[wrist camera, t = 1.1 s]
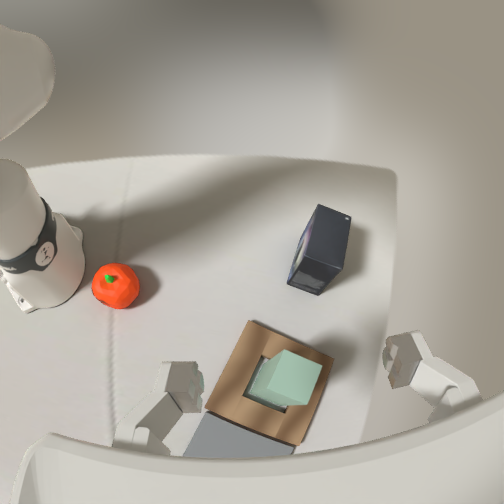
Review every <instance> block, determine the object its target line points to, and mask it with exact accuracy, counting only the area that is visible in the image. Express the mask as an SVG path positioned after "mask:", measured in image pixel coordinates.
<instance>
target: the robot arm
mask: <svg viewBox="0 0 504 504" xmlns="http://www.w3.org/2000/svg"><path fill="white" fill-rule="evenodd" d="M54 81H55V63H54V59H53V56H52V53H51V51H50V49H49V47H48V46H47V45H46V44H45V42H44V41H42V40H41V39H40V38H38V37H37V36H35V35H32V34H29V33H25V32H20V31H15V30H12V29H9V28H7V27H4V26H3V25H1V24H0V141H1V140H2V139H4V138H6V137H7V136H8V135H10V134H12V133H13V132H15V131H16V130H17V129H18V128H19V127H21V126H22V125H23V124H24V123H25V122H26V121H28V120H29V119H30V118H31V117H32V116H33V115H35V114H36V113H37V112H38V111H39V110H41V109H42V108H43V107H44V106H45V105H46V104H47V102H48V100H49V98H50V96H51V93H52V90H53V85H54ZM82 240H83V232H82V231H81V229H80V228H78V227H75V226H72V225H69V224H68V222H67V221H66V219H65V218H64V216H63V215H62V214H57V213H55V212H52V210H51V208H50V207H49V205H48V204H47V203H46V202H45V200H44V199H43V198H42V197H40V196H39V194H38V192H37V190H36V189H35V187H34V185H33V183H32V181H31V179H30V177H29V175H28V173H27V171H26V170H25V168H24V167H22V166H21V165H20V164H18V163H16V162H14V161H12V160H9V159H0V278H1V277H2V278H1V279H2V281H3V282H4V283H5V284H6V286H7V287H8V289H9V291H10V293H11V294H12V296H13V297H14V299H15V301H16V302H17V304H18V305H19V307H20V309H21V310H22V311H23V312H24V313H29V312H32V311H34V310H35V309H37V308H51V307H55V306H57V305H60V304H62V303H63V302H65V301H66V300H67V299H69V298H70V297H71V296H72V295H73V293H74V292H75V291H76V289H77V288H78V286H79V285H80V282H81V280H82V278H83V274H84V270H85V257H84V253H83V249H82ZM23 300H24V302H23V303H22V301H23ZM386 345H387V347H386V348H385V349H384V350H383V364H384V367H385V369H386V370H387V371H389V372H390V373H389V376H388V378H389V381H390V384H391V387H392V389H394V388H398V387H403V386H407V385H410V387H411V388H412V389H413V390H415V391H416V392H417V393H418V394H419V395H420V396H422V397H423V398H424V399H425V400H426V401H427V402H428V403H430V404H431V405H432V406H433V407H434V408H435V409H434V411H433V412H432V413H431V415H430V416H429V418H428V421H429V424H426V425H423V426H420V427H417V428H414V429H411V430H408V431H404V432H401V433H398V434H394V435H391V436H387V437H384V438H380V439H376V440H372V441H368V442H363V443H359V444H354V445H349V446H344V447H339V448H334V449H328V450H322V451H315V452H308V453H300V454H291V455H281V456H268V457H250V458H201V457H183V456H171V455H170V452H171V451H170V450H169V448H168V447H166V446H165V445H164V444H163V443H162V441H163V439H164V438H165V437H166V435H167V434H168V433H169V432H170V430H171V429H172V428H173V426H174V425H175V424H176V422H177V421H178V420H179V419H180V417H181V416H182V415H183V413H201V408H202V398H201V397H200V395H201V394H202V393H203V392H204V379H203V375H202V373H201V372H200V371H199V370H198V364H197V363H196V361H192V362H173V361H172V362H162V363H161V364H160V367H159V371H158V375H157V379H156V383H155V387H154V391H153V392H150V393H149V394H148V395H147V396H146V397H145V398H144V399H142V400H141V401H140V402H139V403H138V404H137V405H136V406H135V407H134V408H133V409H132V410H131V411H130V412H129V413H128V414H127V415H126V416H125V417H124V418H123V419H122V420H121V421H120V422H119V423H118V425H117V428H116V432H115V436H114V440H113V444H112V447H108V446H103V445H99V444H94V443H90V442H86V441H82V440H78V439H74V438H70V437H67V436H63V435H60V434H57V433H48V434H46V435H44V436H43V437H41V438H40V439H39V440H37V441H36V442H35V443H34V444H32V445H31V446H30V447H29V448H28V449H27V451H26V453H25V455H24V457H23V459H22V461H21V464H20V467H19V469H18V472H17V475H16V479H15V482H14V486H13V489H12V493H11V497H10V502H9V504H504V390H503V391H501V392H499V393H497V394H495V395H493V396H492V397H489V398H487V399H485V400H483V399H482V397H481V395H480V393H479V391H478V388H477V386H476V384H475V382H474V380H473V379H472V378H470V377H469V376H467V375H466V374H464V373H462V372H461V371H459V370H458V369H456V368H455V367H453V366H451V365H450V364H448V363H447V362H445V361H443V360H442V359H440V358H439V357H437V356H433V354H432V352H431V351H430V349H429V347H428V345H427V343H426V341H425V339H424V337H423V335H422V334H421V332H420V331H419V330H416V331H412V332H407V333H403V334H399V335H394V336H390V337H388V338H387V339H386Z"/></svg>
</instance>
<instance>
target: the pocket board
mask: <svg viewBox="0 0 504 504" xmlns="http://www.w3.org/2000/svg"><path fill="white" fill-rule="evenodd" d="M284 349H285V350H287V351H290V352H292V353H294V354H296V355H299V356H301V357H303V358H306V359H308V360H310V361H313V362H315V363H317V364H320V365H322V368H321V371H320V374H319V376H318V379H317V381H316V384H315V387H314V389H313V392H312V394H311V397H310V399H309V401H308V404H307V405H287V407H286V410H285V412H284V413H282V412H279V411H277V410H274V409H272V408H269V407H267V406H265V405H262V404H260V403H257V402H255V401H253V400H251V399H248V398H246V397H244V396H242V395H243V393H244V391H245V389H246V387H247V385H248V382H249V380H250V378H251V376H252V374H253V372H254V370H255V368H256V366H257V363H258V361H259V359H260V357H261V356H262V357H265V358H267V359H269V360H270V359H271V358H273V357H274V356H276V355H277V354H278V353H280V352H281V351H283V350H284ZM333 361H334V358H331V357H329V356H327V355H324V354H322V353H320V352H317V351H315V350H313V349H310V348H308V347H306V346H304V345H301V344H299V343H297V342H295V341H292V340H290V339H288V338H286V337H284V336H281V335H279V334H277V333H275V332H273V331H271V330H269V329H266V328H264V327H262V326H260V325H258V324H256V323H254V322H252V321H250V320H248V322H247V324H246V326H245V328H244V330H243V332H242V334H241V336H240V338H239V340H238V342H237V344H236V346H235V348H234V350H233V352H232V354H231V356H230V358H229V360H228V362H227V364H226V366H225V368H224V370H223V372H222V374H221V376H220V378H219V380H218V382H217V384H216V386H215V388H214V390H213V392H212V394H211V396H210V398H209V399H208V401H207V403H206V405H205V407H204V408H206V409H208V410H210V411H212V412H215V413H217V414H219V415H221V416H223V417H225V418H228V419H230V420H232V421H234V422H237V423H239V424H241V425H244V426H246V427H249V428H251V429H254V430H256V431H259V432H261V433H264V434H266V435H269V436H272V437H274V438H277V439H280V440H283V441H286V442H288V443H291V444H294V445H297V446H299V445H300V443H301V441H302V439H303V437H304V434H305V432H306V430H307V428H308V425H309V423H310V421H311V418H312V416H313V413H314V411H315V409H316V406H317V404H318V401H319V399H320V396H321V394H322V391H323V388H324V386H325V383H326V380H327V378H328V375H329V372H330V370H331V367H332V364H333Z"/></svg>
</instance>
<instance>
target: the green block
mask: <svg viewBox="0 0 504 504" xmlns="http://www.w3.org/2000/svg"><path fill="white" fill-rule="evenodd" d="M321 368H322V365H320V364H317V363H315V362H313V361H310V360H308V359H306V358H303V357H301V356H299V355H296V354H294V353H292V352H290V351H287V350H285V349H284V350H283V351H281V352H280V353H278V354H277V355H276V356H274V357H273V358H271V359H270V360H268V361H267V362H266V363H264V364H263V366H262V368H261V370H260V373H259V375H258V377H257V379H256V381H255V383H254V385H253V388H252V390H251V392H250V393H251V394H254V395H256V396H258V397H261V398H263V399H265V400H268V401H270V402H272V403H275V404H277V405H280V406H287V405H307V404H308V401H309V399H310V397H311V394H312V392H313V389H314V387H315V384H316V381H317V379H318V376H319V374H320V371H321Z"/></svg>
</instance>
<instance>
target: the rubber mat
mask: <svg viewBox="0 0 504 504" xmlns="http://www.w3.org/2000/svg"><path fill="white" fill-rule="evenodd" d="M293 449H294V447H291V446H288V445H285V444H282V443H279V442H276V441H274V440H271V439H268V438H266V437H263V436H260V435H258V434H255V433H253V432H250V431H248V430H245V429H243V428H241V427H238V426H236V425H234V424H231V423H229V422H227V421H224V420H222V419H220V418H218V417H216V416H214V415H211V414H209V413H207V412H206V413H205V415H204V417H203V419H202V420H201V422H200V424H199V426H198V428H197V430H196V432H195V434H194V436H193V438H192V439H191V441H190V443H189V445H188V447H187V449H186V451H185V453H184V454H183V457H201V458H250V457H268V456H281V455H291V453H292V451H293Z"/></svg>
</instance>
